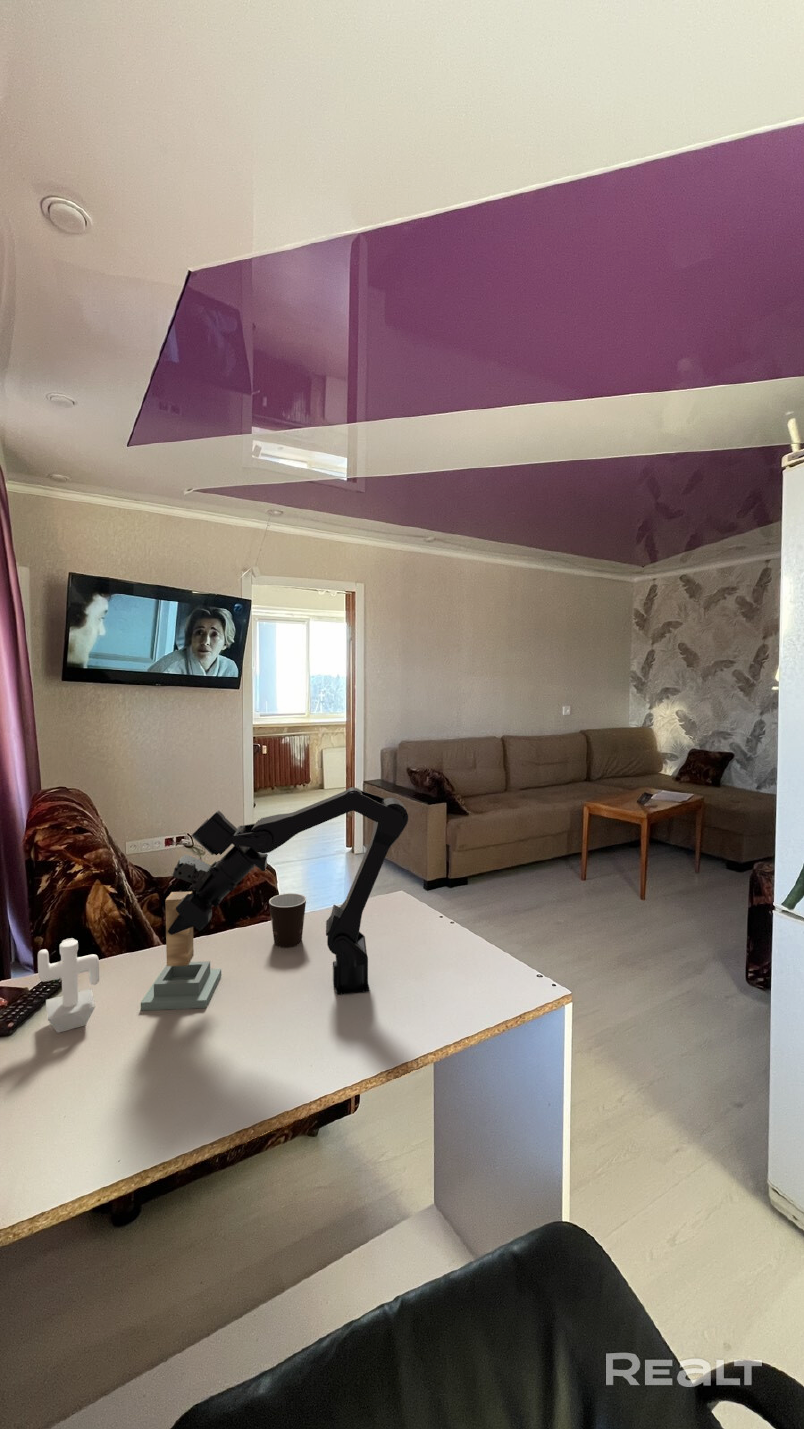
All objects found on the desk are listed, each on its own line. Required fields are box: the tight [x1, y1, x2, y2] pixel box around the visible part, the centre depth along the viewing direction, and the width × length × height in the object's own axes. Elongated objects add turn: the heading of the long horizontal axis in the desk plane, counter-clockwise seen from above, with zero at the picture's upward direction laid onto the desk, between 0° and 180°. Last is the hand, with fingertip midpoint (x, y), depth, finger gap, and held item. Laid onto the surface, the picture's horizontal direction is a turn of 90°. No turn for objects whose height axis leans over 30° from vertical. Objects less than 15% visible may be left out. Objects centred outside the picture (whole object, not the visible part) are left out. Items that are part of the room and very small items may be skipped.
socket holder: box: [140, 960, 222, 1011], centre depth 113 cm, size 12×12×4 cm
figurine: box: [37, 937, 101, 1034], centre depth 103 cm, size 7×9×15 cm
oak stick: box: [164, 891, 195, 966], centre depth 112 cm, size 4×4×13 cm
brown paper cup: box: [268, 893, 307, 949], centre depth 137 cm, size 12×9×10 cm
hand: (172, 928), depth 111 cm, fingers closed on oak stick, 4 cm apart
